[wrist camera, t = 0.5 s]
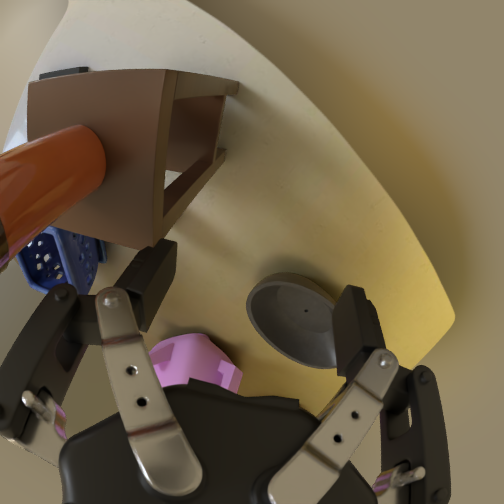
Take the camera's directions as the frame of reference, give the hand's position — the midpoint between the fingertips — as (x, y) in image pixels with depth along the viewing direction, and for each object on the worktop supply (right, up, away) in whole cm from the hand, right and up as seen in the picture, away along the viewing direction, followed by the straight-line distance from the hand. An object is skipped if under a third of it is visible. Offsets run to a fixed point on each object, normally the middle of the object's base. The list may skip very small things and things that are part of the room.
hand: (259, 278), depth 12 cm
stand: (-8, +17, +16) cm, 25 cm away
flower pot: (-29, +6, +27) cm, 40 cm away
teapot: (-11, -19, +41) cm, 47 cm away
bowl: (+8, -7, +30) cm, 32 cm away
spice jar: (-10, +6, 0) cm, 12 cm away
